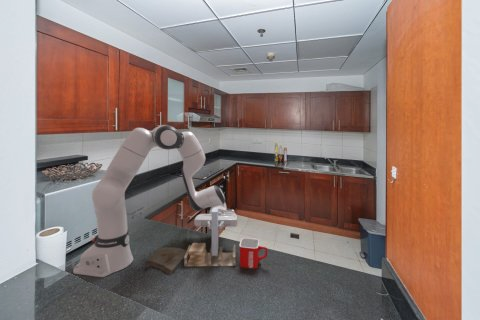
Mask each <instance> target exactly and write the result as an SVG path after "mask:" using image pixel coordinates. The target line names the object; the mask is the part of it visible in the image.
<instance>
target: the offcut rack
mask: <svg viewBox="0 0 480 320" xmlns="http://www.w3.org/2000/svg"><path fill="white" fill-rule="evenodd" d="M191 246H192V244H189V245H188V247H187V250H186V251H187V252H186V254H185V257H184V259H183V262H184V263H183V264H184V266H183V267H231V266H233V267H234V266H235V267H236V244H233V245H232V246H233V247H232V252H223V247H222V246H220V247H219V250H218V255H217V256H212V246H210V249H209V252H207V256H206V260H205V265H188V260H189V257H190V255H189V249H190V247H191Z"/></svg>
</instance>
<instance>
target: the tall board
mask: <svg viewBox="0 0 480 320" xmlns="http://www.w3.org/2000/svg"><path fill="white" fill-rule="evenodd" d="M211 247H212V256H217V255H218V253H219V229H218V208H213V209H212V229H211Z"/></svg>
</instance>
